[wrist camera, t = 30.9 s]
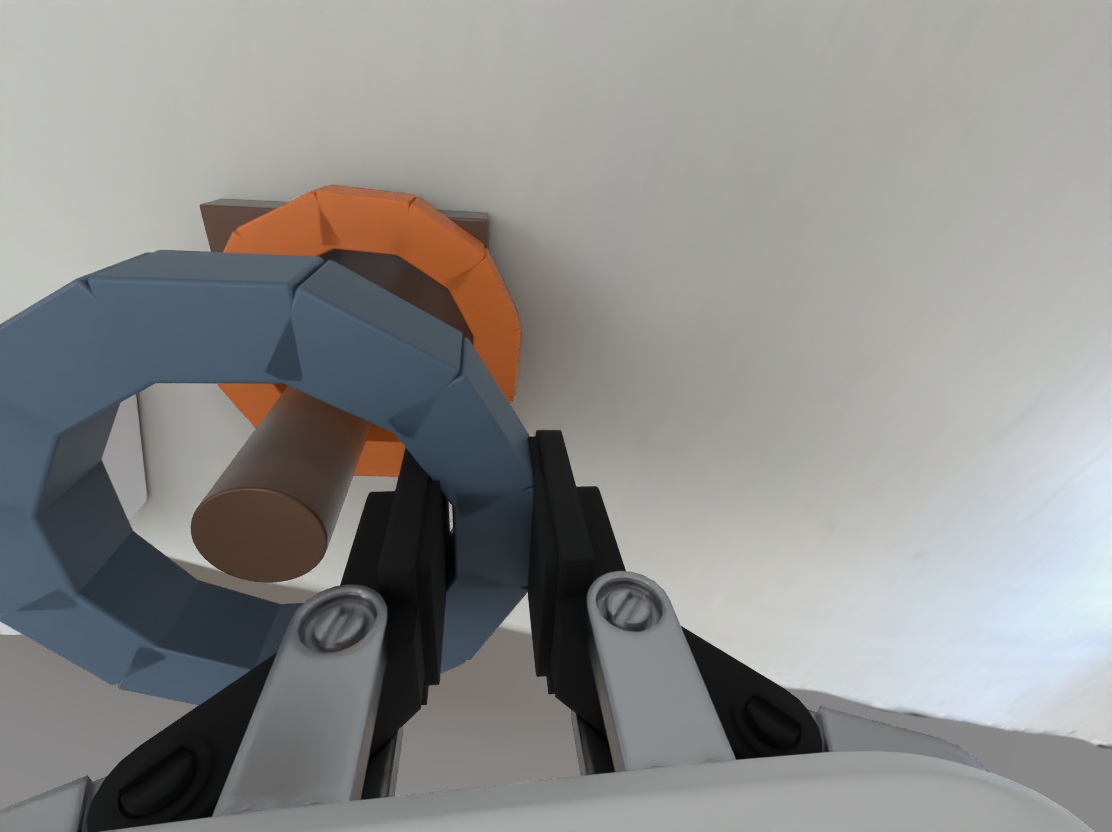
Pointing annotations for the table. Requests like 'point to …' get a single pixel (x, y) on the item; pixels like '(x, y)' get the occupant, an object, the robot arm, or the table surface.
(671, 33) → the table surface
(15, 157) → the table surface
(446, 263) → the orange ring
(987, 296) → the table surface
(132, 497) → the medicine bottle
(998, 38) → the table surface
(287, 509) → the stand
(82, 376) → the slate ring
